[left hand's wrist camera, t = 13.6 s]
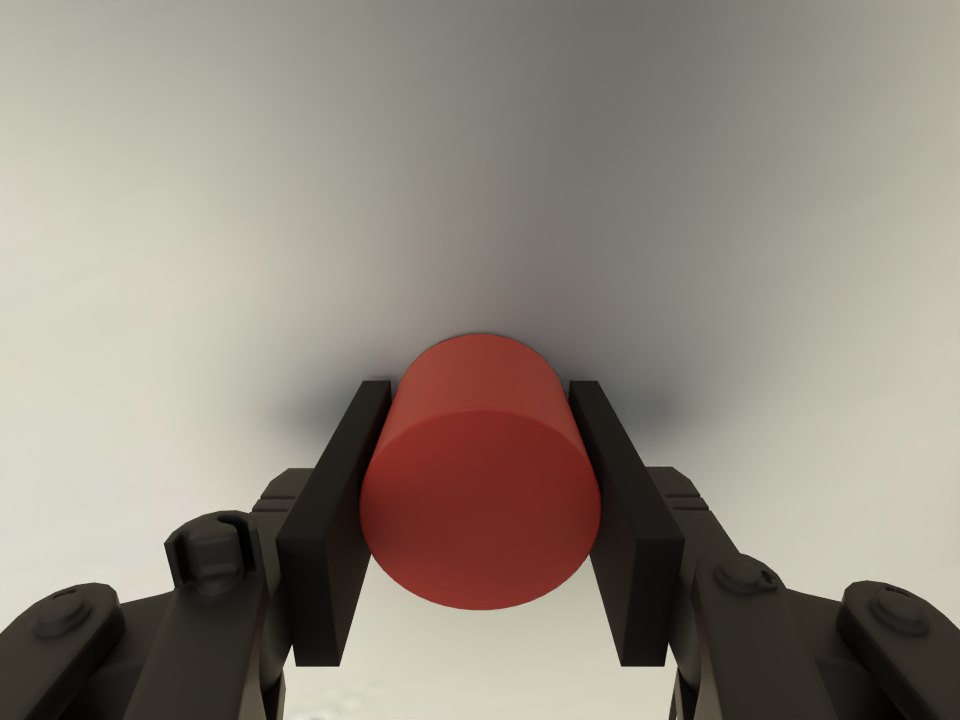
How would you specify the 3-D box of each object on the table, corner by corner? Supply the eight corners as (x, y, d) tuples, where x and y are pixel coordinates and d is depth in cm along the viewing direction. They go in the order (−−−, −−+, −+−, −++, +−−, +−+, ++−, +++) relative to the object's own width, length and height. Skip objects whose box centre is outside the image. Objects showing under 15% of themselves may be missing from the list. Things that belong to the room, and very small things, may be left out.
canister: (517, 512, 16) (531, 639, 12) (367, 451, 15) (323, 563, 11) (599, 378, 14) (649, 469, 10) (436, 303, 14) (416, 366, 9)
